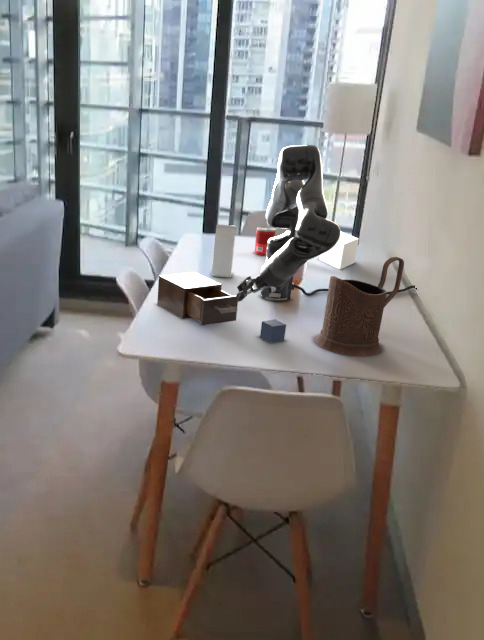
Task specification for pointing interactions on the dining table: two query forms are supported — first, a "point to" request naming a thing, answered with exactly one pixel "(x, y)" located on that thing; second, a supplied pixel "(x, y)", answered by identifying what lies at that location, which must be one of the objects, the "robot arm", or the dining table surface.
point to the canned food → (263, 239)
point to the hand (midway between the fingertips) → (250, 296)
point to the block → (273, 331)
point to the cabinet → (181, 290)
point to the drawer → (211, 306)
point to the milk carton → (223, 250)
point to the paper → (341, 252)
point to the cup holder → (356, 314)
